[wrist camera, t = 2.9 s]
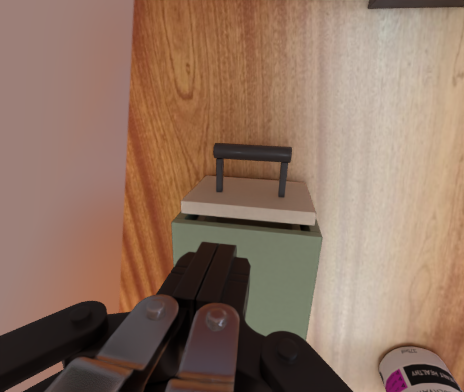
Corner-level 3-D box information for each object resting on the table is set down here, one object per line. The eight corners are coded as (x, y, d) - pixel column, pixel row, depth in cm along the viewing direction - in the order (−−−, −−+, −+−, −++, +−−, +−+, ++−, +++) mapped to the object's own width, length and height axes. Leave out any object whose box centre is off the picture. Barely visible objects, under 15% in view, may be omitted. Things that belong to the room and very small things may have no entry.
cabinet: (203, 186, 33) (171, 222, 23) (308, 194, 31) (322, 237, 21) (204, 289, 38) (178, 356, 28) (293, 302, 37) (300, 377, 26)
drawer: (206, 135, 30) (178, 147, 22) (311, 140, 28) (324, 155, 20) (206, 277, 36) (185, 328, 28) (292, 288, 35) (296, 346, 26)
